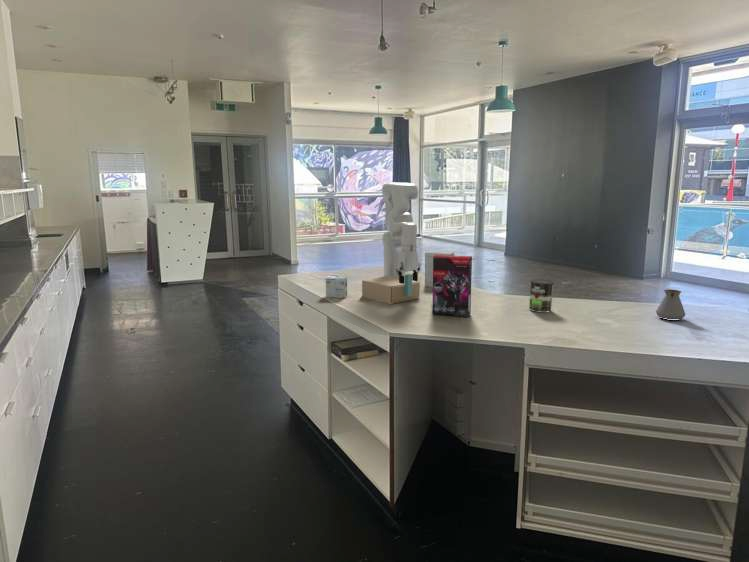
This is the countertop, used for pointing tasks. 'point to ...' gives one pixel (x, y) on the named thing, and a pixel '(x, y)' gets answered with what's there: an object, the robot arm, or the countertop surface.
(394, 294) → the drawer with teal handle
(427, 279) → the hard drive box
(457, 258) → the graphics card box
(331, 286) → the light bulb box
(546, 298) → the coffee can
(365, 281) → the sleeve
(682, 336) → the countertop surface
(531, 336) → the countertop surface
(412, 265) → the robot arm
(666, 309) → the coffee pot
